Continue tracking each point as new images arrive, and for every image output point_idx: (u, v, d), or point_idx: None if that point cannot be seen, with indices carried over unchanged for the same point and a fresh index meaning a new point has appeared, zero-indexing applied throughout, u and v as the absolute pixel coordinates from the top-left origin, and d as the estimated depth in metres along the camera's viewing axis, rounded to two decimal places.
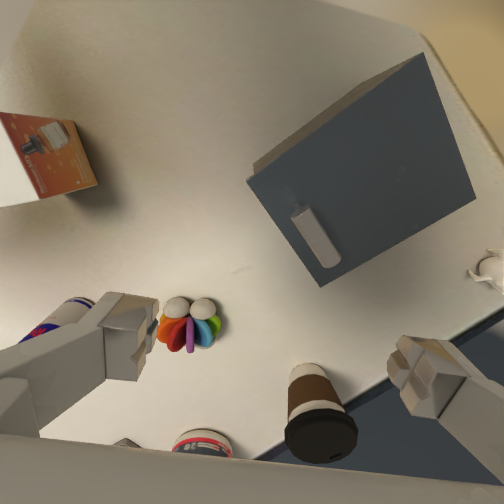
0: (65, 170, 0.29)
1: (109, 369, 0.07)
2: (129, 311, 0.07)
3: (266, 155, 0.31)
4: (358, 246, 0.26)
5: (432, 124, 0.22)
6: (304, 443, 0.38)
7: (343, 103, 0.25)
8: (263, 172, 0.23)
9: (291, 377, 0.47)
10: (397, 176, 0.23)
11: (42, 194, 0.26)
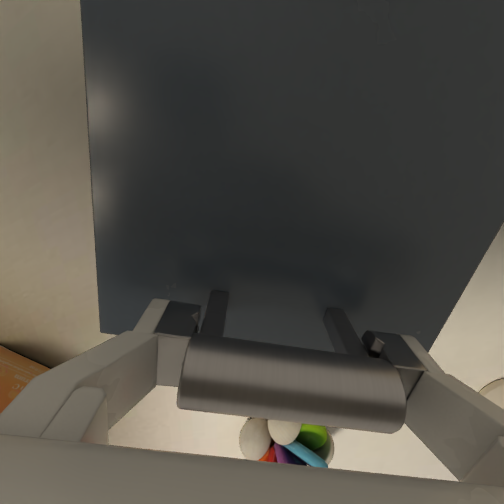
0: None
1: (160, 375, 0.07)
2: (178, 318, 0.07)
3: None
4: (426, 258, 0.09)
5: None
6: None
7: None
8: (106, 299, 0.10)
9: None
10: (375, 30, 0.07)
11: None
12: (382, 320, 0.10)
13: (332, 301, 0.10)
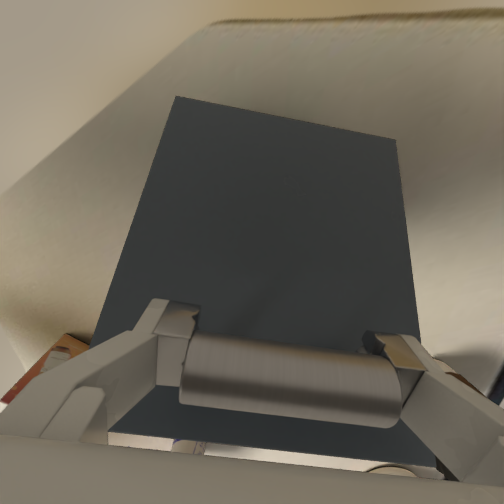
0: None
1: (159, 375, 0.07)
2: (178, 318, 0.07)
3: None
4: (377, 314, 0.12)
5: (261, 127, 0.15)
6: None
7: None
8: None
9: None
10: (295, 191, 0.14)
11: None
12: None
13: None
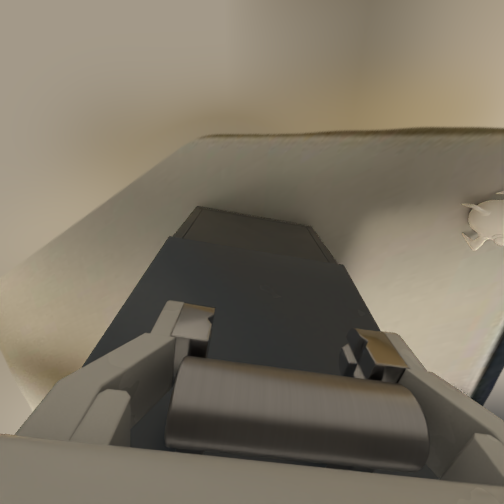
0: None
1: None
2: (194, 320, 0.07)
3: None
4: None
5: (237, 255, 0.19)
6: None
7: None
8: None
9: None
10: (271, 294, 0.16)
11: None
12: None
13: None
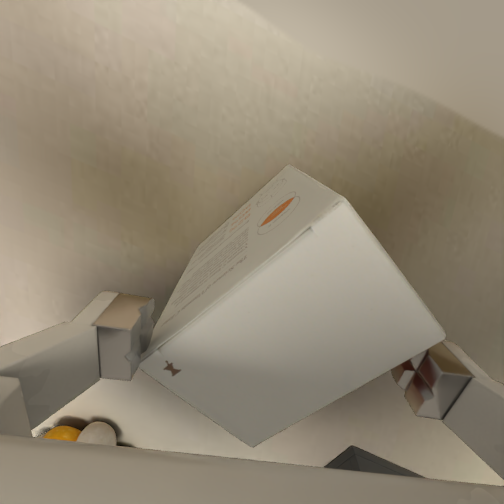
0: None
1: (103, 368, 0.07)
2: (123, 310, 0.07)
3: None
4: None
5: None
6: None
7: None
8: None
9: None
10: None
11: None
12: None
13: None
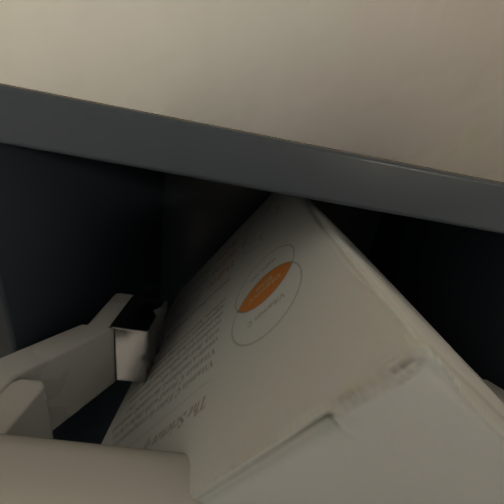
0: None
1: (119, 370, 0.07)
2: (139, 312, 0.07)
3: None
4: None
5: None
6: None
7: None
8: None
9: None
10: None
11: None
12: None
13: None
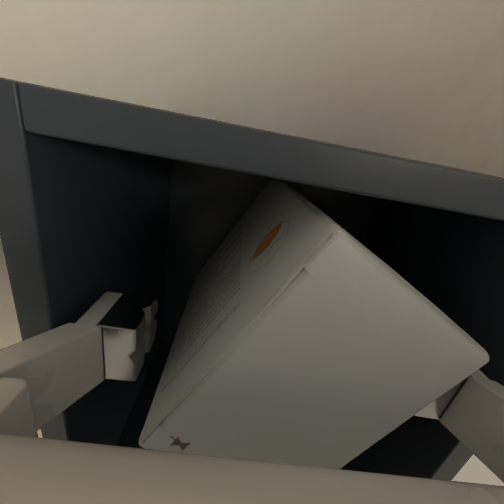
0: None
1: (108, 369, 0.07)
2: (128, 311, 0.07)
3: None
4: None
5: None
6: None
7: None
8: None
9: None
10: None
11: None
12: None
13: None
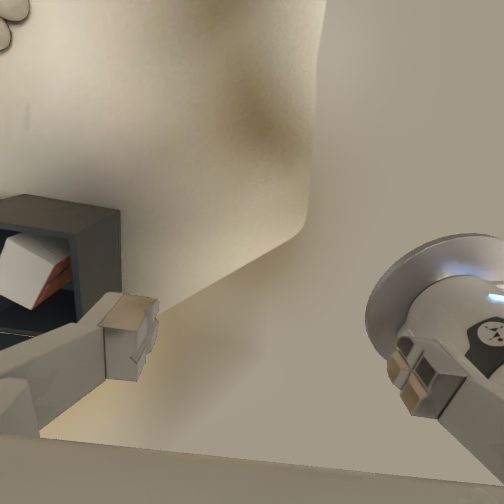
0: (66, 277, 0.36)
1: (109, 369, 0.07)
2: (129, 311, 0.07)
3: (113, 227, 0.37)
4: None
5: None
6: None
7: (97, 296, 0.36)
8: None
9: None
10: None
11: (35, 305, 0.32)
12: None
13: None
